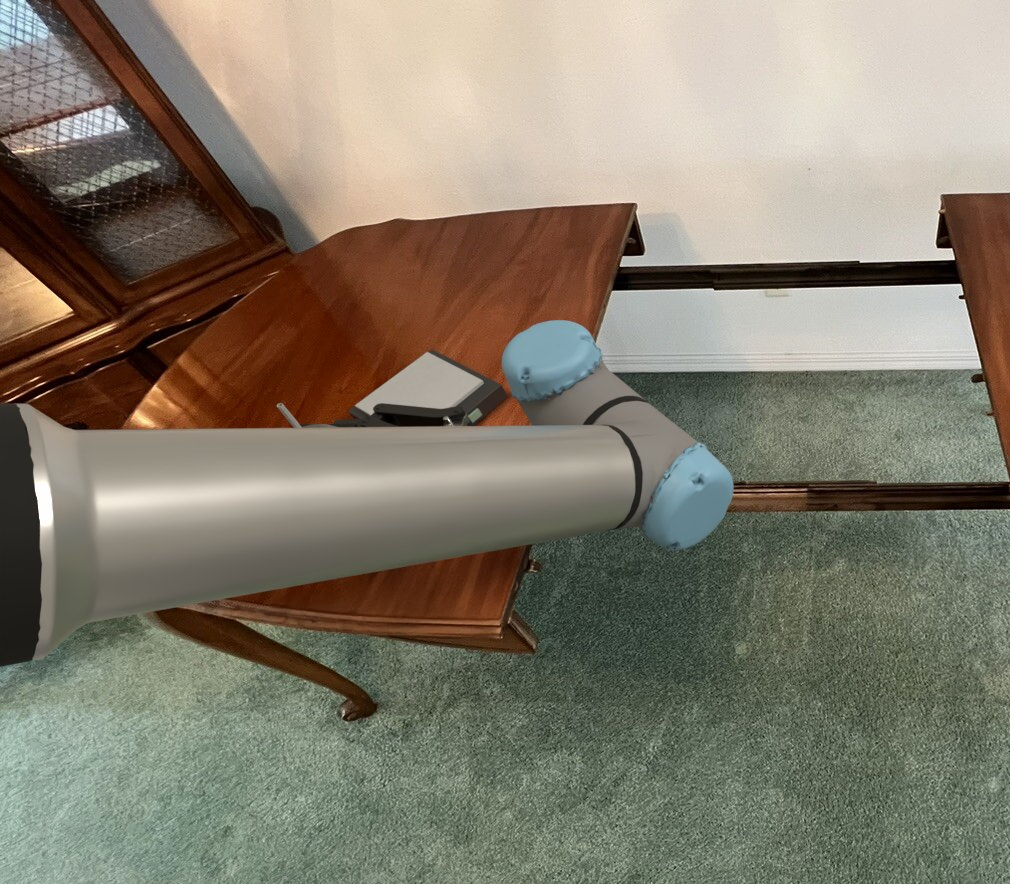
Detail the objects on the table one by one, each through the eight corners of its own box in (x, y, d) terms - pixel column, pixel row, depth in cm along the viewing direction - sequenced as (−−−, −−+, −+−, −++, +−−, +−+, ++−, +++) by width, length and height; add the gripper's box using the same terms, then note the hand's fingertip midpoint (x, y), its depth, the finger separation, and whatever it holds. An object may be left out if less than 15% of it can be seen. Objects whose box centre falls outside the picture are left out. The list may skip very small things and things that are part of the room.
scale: (428, 466, 86) (416, 452, 84) (358, 423, 92) (344, 408, 90) (509, 397, 93) (500, 382, 91) (439, 361, 99) (429, 345, 97)
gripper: (484, 576, 61) (250, 574, 63) (545, 413, 74) (350, 415, 76) (446, 532, 56) (190, 532, 57) (519, 364, 69) (309, 368, 70)
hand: (281, 465), depth 67 cm, fingers closed on beverage cup, 7 cm apart
